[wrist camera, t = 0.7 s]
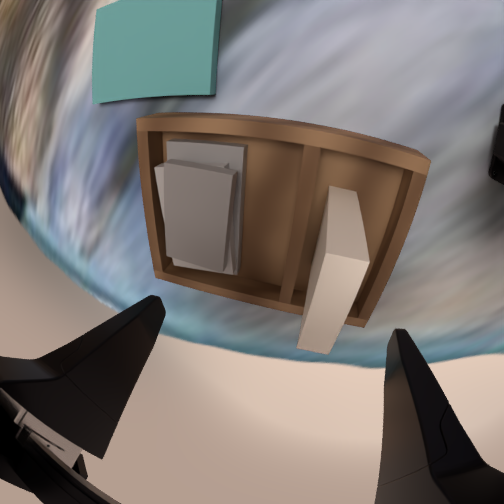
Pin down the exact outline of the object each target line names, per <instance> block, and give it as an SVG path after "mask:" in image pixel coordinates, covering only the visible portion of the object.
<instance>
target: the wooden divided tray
mask: <svg viewBox="0 0 504 504" xmlns="http://www.w3.org/2000/svg"><path fill="white" fill-rule="evenodd" d="M136 121H137V141H138V156H139V168H140V179H141V188H142V197H143V205H144V212H145V220H146V226H147V233H148V239H149V245H150V251H151V257H152V262H153V267H154V272H155V277H156V278H158V279H162V280H165V281H168V282H172V283H175V284H179V285H182V286H186V287H190V288H193V289H197V290H200V291H204V292H208V293H212V294H215V295H219V296H223V297H227V298H231V299H235V300H239V301H243V302H247V303H251V304H255V305H259V306H263V307H267V308H272V309H276V310H280V311H285V312H289V313H294V314H298V315H303V312H304V306H305V301H306V295H307V289H308V283H309V277H310V270H311V264H312V260H313V256H314V252H315V248H316V244H317V239H318V235H319V231H320V226H321V222H322V217H323V212H324V208H325V203H326V198H327V193H328V188H329V186H333V187H338V188H343V189H347V190H351V191H355V192H357V197H358V201H359V206H360V211H361V215H362V221H363V226H364V231H365V237H366V242H367V248H368V255H369V261H370V263H369V265H368V268H367V270H366V273H365V275H364V278H363V280H362V283H361V285H360V288H359V290H358V293H357V295H356V297H355V300H354V302H353V304H352V306H351V309H350V311H349V313H348V315H347V317H346V320H345V322H344V324H347V325H353V326H358V327H363V328H364V327H365V325H366V323H367V322H368V320H369V318H370V316H371V314H372V312H373V310H374V308H375V306H376V304H377V302H378V300H379V298H380V296H381V294H382V292H383V290H384V288H385V286H386V284H387V282H388V279H389V277H390V275H391V273H392V271H393V268H394V266H395V264H396V261H397V259H398V257H399V254H400V252H401V249H402V247H403V244H404V242H405V239H406V237H407V234H408V232H409V229H410V226H411V224H412V221H413V218H414V215H415V212H416V209H417V206H418V203H419V200H420V197H421V194H422V191H423V188H424V184H425V181H426V178H427V174H428V171H429V167H430V163H431V160H429V159H428V158H427V157H425V156H424V155H423V154H422V153H420V152H419V151H418V150H415V149H412V148H409V147H406V146H403V145H399V144H396V143H393V142H389V141H386V140H382V139H379V138H375V137H371V136H367V135H363V134H359V133H355V132H351V131H346V130H342V129H337V128H332V127H327V126H322V125H316V124H311V123H305V122H299V121H292V120H285V119H277V118H269V117H260V116H250V115H238V114H222V113H191V112H173V113H156V114H152V115H148V116H144V117H140V118H137V119H136ZM171 139H192V140H207V141H219V142H230V143H240V144H248V151H247V166H246V181H245V197H244V214H243V231H242V248H241V266H240V270H239V272H238V274H237V275H235V274H233V275H231V274H225V273H218V272H212V271H205V270H199V269H193V268H187V267H181V266H175V265H174V263H173V259H172V257H169V256H167V254H166V238H165V223H164V218H163V213H162V208H161V203H160V198H159V192H158V187H157V181H156V175H155V169H154V167H156V166H158V165H159V164H161V163H164V162H166V161H167V142H166V141H169V140H171Z"/></svg>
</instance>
